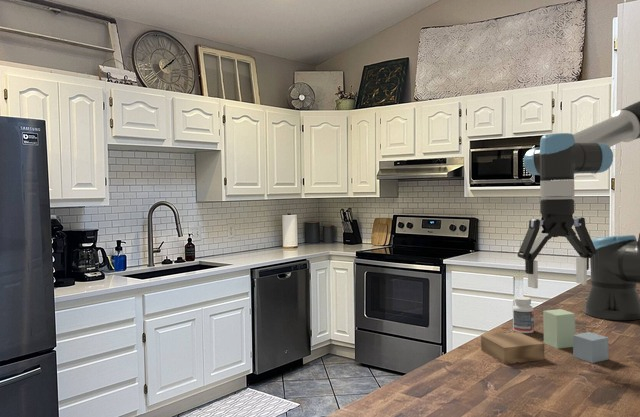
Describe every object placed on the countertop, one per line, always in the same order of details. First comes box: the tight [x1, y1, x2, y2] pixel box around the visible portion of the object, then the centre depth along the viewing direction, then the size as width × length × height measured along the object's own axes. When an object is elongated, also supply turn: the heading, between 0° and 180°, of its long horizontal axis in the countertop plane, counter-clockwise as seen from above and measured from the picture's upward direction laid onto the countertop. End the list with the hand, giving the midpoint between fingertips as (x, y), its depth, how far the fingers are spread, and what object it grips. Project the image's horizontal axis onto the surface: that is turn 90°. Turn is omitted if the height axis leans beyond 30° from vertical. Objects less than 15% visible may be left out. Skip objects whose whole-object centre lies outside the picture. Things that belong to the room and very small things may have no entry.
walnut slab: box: [480, 331, 546, 365], centre depth 123 cm, size 10×10×4 cm
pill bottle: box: [512, 296, 535, 334], centre depth 141 cm, size 5×5×9 cm
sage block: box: [542, 308, 576, 349], centre depth 129 cm, size 5×5×8 cm
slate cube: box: [572, 331, 609, 364], centre depth 119 cm, size 5×5×5 cm
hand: (557, 285), depth 128 cm, fingers open, 13 cm apart
